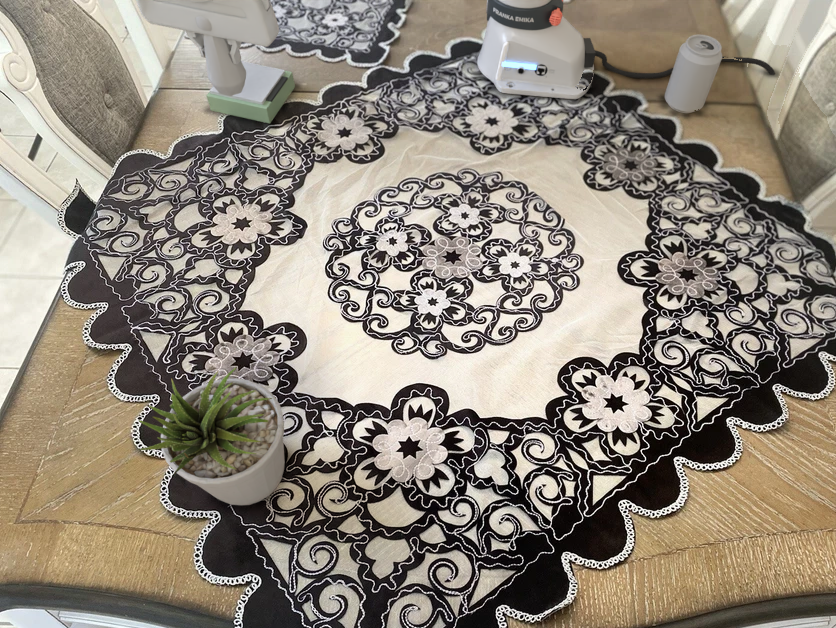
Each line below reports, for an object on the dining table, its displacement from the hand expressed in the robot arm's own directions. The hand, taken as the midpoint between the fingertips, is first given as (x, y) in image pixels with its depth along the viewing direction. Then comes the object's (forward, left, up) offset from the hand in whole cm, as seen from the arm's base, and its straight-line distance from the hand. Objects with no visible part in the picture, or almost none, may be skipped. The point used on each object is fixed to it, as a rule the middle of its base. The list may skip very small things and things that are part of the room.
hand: (221, 58), depth 103 cm
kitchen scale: (+2, -9, -14) cm, 17 cm away
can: (-73, -34, -14) cm, 81 cm away
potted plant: (-27, +57, -14) cm, 65 cm away
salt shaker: (0, 0, -5) cm, 5 cm away
